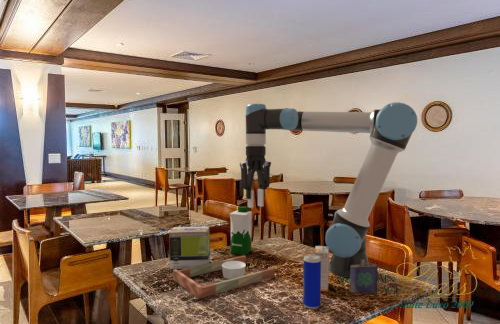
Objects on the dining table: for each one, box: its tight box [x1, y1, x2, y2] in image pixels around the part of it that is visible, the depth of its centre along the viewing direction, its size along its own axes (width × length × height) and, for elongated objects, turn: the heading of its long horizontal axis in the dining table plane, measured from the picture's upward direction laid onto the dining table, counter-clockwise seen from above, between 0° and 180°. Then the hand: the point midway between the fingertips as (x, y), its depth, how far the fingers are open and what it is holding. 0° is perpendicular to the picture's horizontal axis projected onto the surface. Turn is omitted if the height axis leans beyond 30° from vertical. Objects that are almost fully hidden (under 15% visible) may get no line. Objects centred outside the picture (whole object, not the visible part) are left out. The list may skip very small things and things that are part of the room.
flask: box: [349, 259, 379, 295], centre depth 119 cm, size 9×3×11 cm, turn 96°
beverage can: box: [302, 253, 322, 310], centre depth 109 cm, size 5×5×15 cm
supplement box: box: [314, 245, 330, 293], centre depth 123 cm, size 8×5×13 cm, turn 168°
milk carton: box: [229, 205, 253, 256], centre depth 161 cm, size 9×9×20 cm
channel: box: [172, 255, 276, 299], centre depth 131 cm, size 19×31×4 cm, turn 126°
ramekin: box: [221, 261, 247, 280], centre depth 133 cm, size 9×9×4 cm
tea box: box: [168, 225, 211, 270], centre depth 144 cm, size 15×10×15 cm, turn 92°
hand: (255, 206), depth 138 cm, fingers open, 4 cm apart
